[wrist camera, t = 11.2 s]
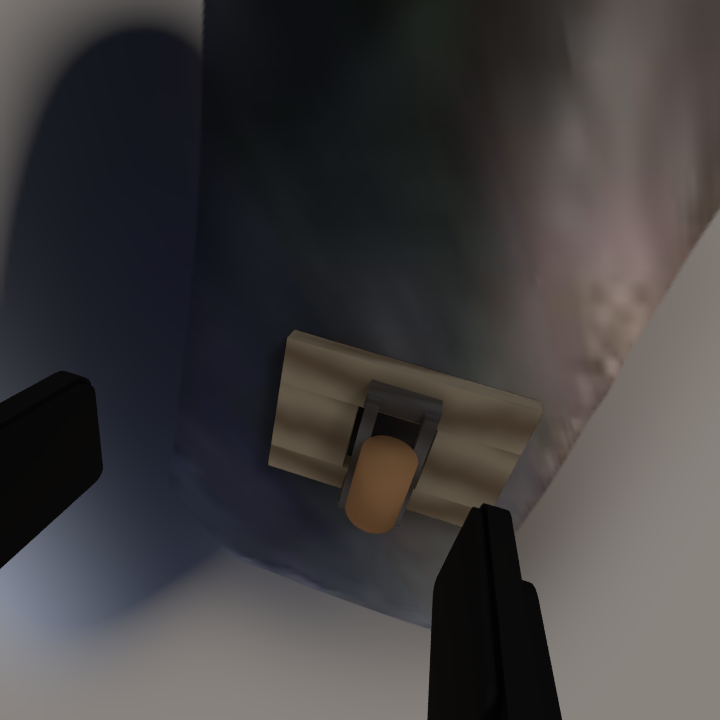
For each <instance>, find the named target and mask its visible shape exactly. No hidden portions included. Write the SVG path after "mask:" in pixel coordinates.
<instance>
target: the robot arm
mask: <svg viewBox="0 0 720 720" xmlns="http://www.w3.org/2000/svg"><path fill="white" fill-rule="evenodd" d="M101 454H102V453H101V443H100V434H99V425H98V416H97V405H96V395H95V389H94V388H93V386H91V383H90V381H89V380H88V379H87V378H85V377H82V376H79V375H75V374H72V373H69V372H66V371H59V372H57V373H54V374H53V375H51V376H49V377H47V378H45V379H43V380H42V381H40V382H38V383H36V384H34V385H32V386H31V387H29V388H27V389H25V390H23V391H21V392H19V393H18V394H16V395H14V396H12V397H10V398H8V399H7V400H5V401H3V402H1V403H0V569H1V568H2V567H3V566H4V565H5V564H6V563H7V562H8V561H9V560H10V559H11V558H13V557H14V556H15V555H16V554H17V553H18V552H19V551H20V550H21V549H23V548H24V547H25V546H26V545H27V544H28V543H29V542H30V541H31V540H33V539H34V538H35V537H36V536H37V535H38V534H39V533H40V532H41V531H42V530H44V528H46V527H47V526H48V525H49V524H50V523H51V522H52V521H53V520H54V519H56V518H57V517H58V516H59V515H60V514H61V513H62V512H63V511H64V510H65V509H67V508H68V507H69V506H70V505H71V504H72V503H73V502H74V501H75V500H76V499H78V498H79V497H80V496H81V495H82V494H83V493H84V492H85V491H86V490H88V489H89V488H90V487H91V486H92V485H93V484H94V483H95V482H96V481H97V480H98V479H99V477H100V475H101V473H102V470H103V463H102V455H101ZM428 697H429V698H428V719H427V720H562V717H561V712H560V707H559V702H558V697H557V692H556V686H555V681H554V676H553V671H552V666H551V661H550V656H549V650H548V646H547V640H546V635H545V630H544V625H543V620H542V615H541V610H540V604H539V599H538V595H537V592H536V589H535V587H534V586H533V584H532V583H529V582H527V581H524V580H522V578H521V572H520V566H519V560H518V554H517V548H516V542H515V535H514V529H513V523H512V517H511V514H510V512H509V511H508V510H505V509H502V508H499V507H495V506H492V505H489V504H486V503H483V504H482V505H481V506H480V508H477V507H472V508H471V510H470V512H469V514H468V516H467V518H466V520H465V522H464V524H463V526H462V528H461V530H460V532H459V534H458V536H457V538H456V540H455V542H454V544H453V546H452V548H451V550H450V552H449V554H448V556H447V558H446V560H445V562H444V564H443V566H442V568H441V570H440V572H439V574H438V576H437V578H436V581H435V585H434V590H433V605H432V627H431V650H430V673H429V696H428Z"/></svg>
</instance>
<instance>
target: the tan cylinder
mask: <svg viewBox="0 0 720 720" xmlns="http://www.w3.org/2000/svg"><path fill="white" fill-rule="evenodd" d="M417 466H418V458H417V455H416V453H415V452H414V450H413V449H412V448H411V447H410V446H409V445H408V444H406V443H405V442H403V441H401V440H399V439H397V438H394V437H391V436H384V435H379V436H373V437H370V438H368V439H367V440H366V441H365V442H364V443H363V445H362V448H361V451H360V455H359V458H358V462H357V465H356V469H355V472H354V476H353V479H352V483H351V486H350V490H349V493H348V497H347V500H346V504H345V511H346V514H347V516H348V518H349V520H350V521H351V522H352V523H353V524H354V525H355V526H356V527H358V528H359V529H361V530H363V531H366V532H369V533H384V532H387V531H389V530H390V529H392V528H393V526H394V525H395V523H396V521H397V518H398V516H399V513H400V510H401V508H402V505H403V503H404V500H405V497H406V495H407V492H408V489H409V487H410V484H411V482H412V479H413V476H414V474H415V471H416V468H417Z"/></svg>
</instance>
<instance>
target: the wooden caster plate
mask: <svg viewBox="0 0 720 720" xmlns="http://www.w3.org/2000/svg"><path fill="white" fill-rule="evenodd" d="M359 406H360V407H363V408H365V409H364V413H363V416H362V420H361V424H360V427H359V431H358V434H357V438H356V442H355V445H354V449H353V453H352V456H349V455H346V454H347V451H348V447H349V443H350V439H351V436H352V432H353V428H354V424H355V421H356V417H357V413H358V409H359ZM378 412H380V413H383V414H386V415H390V416H393V417H396V418H399V419H403V420H406V421H409V422H413V423H416V424H419V425H421V427H420V430H419V433H418V435H417V438H416V441H415V444H414V446H413V450H414V452H415V453H416V455H417V458H418V466H417V468H416V471H415V474H414V476H413V479H412V482H411V484H410V487H409V489H408V492H407V495H406V497H405V500H404V503H403V505H402V508H401V510H400V513H399V516H398V518H397V521H396V523H395V525H394V526H397V527H399V525H400V523H401V520H402V518H403V515H404V512H405V510H406V509H408V510H411V511H414V512H417V513H420V514H423V515H426V516H429V517H433V518H436V519H439V520H442V521H445V522H448V523H451V524H454V525H458V526H461V527H462V526H463V524H464V522H465V520H466V518H467V516H468V514H469V512H470V510H471V508H472V507H477V508H480V506H481V505H482V504H483V503H486V504H489V505H492V506H494V505H495V503H496V501H497V499H498V497H499V495H500V493H501V492H502V490H503V488H504V486H505V484H506V482H507V480H508V478H509V477H510V475H511V473H512V471H513V469H514V467H515V465H516V463H517V461H518V460H519V458H520V456H521V454H522V452H523V450H524V448H525V446H526V444H527V443H528V441H529V439H530V437H531V435H532V433H533V431H534V429H535V428H536V426H537V424H538V422H539V420H540V418H541V416H542V414H543V411H542V408H541V405H540V403H539V401H537V400H533V399H530V398H526V397H523V396H519V395H516V394H513V393H509V392H506V391H502V390H499V389H495V388H492V387H489V386H485V385H482V384H478V383H475V382H472V381H468V380H465V379H461V378H458V377H454V376H451V375H448V374H444V373H441V372H437V371H434V370H430V369H427V368H424V367H420V366H417V365H413V364H410V363H407V362H403V361H400V360H396V359H393V358H389V357H386V356H383V355H379V354H376V353H372V352H369V351H365V350H362V349H359V348H355V347H352V346H348V345H345V344H342V343H338V342H335V341H331V340H328V339H324V338H321V337H318V336H314V335H311V334H307V333H304V332H300V331H297V330H294V331H293V332H292V333H291V334H290V335H289V336H288V338H287V343H286V350H285V357H284V363H283V370H282V377H281V383H280V390H279V397H278V403H277V410H276V416H275V423H274V430H273V436H272V443H271V450H270V456H269V463H268V465H270V466H273V467H276V468H280V469H283V470H286V471H289V472H292V473H295V474H298V475H301V476H305V477H308V478H311V479H314V480H317V481H320V482H323V483H326V484H330V485H333V486H336V487H339V488H341V491H340V494H339V498H338V500H339V504H338V508H341V509H344V510H345V504H346V500H347V497H348V493H349V490H350V486H351V483H352V479H353V476H354V472H355V469H356V465H357V462H358V458H359V455H360V451H361V448H362V445H363V443H364V442H365V441H366V440H367V439H368V438H370V437H371V434H372V431H373V428H374V424H375V421H376V417H377V414H378Z"/></svg>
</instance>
